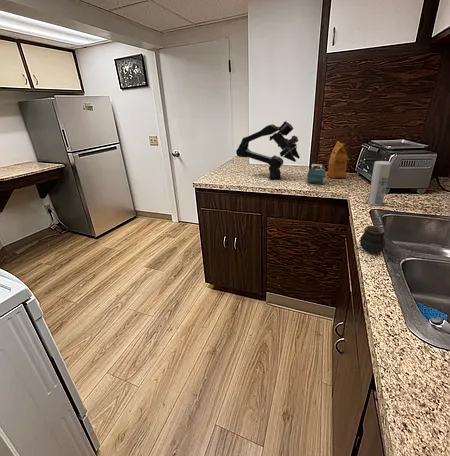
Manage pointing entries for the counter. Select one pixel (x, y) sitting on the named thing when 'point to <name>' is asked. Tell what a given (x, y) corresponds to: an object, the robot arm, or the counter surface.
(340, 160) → the coffee package
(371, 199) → the spray can
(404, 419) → the counter surface
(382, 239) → the mate gourd
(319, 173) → the mug
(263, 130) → the robot arm
